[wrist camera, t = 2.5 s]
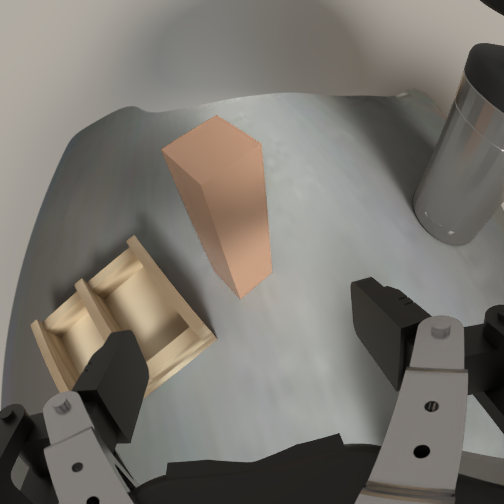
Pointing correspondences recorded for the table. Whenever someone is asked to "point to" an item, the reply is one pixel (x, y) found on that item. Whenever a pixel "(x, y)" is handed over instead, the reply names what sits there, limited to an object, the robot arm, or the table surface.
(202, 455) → the table surface
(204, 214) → the clay bar
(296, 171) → the table surface
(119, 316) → the rack
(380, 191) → the table surface
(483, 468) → the soap bottle
